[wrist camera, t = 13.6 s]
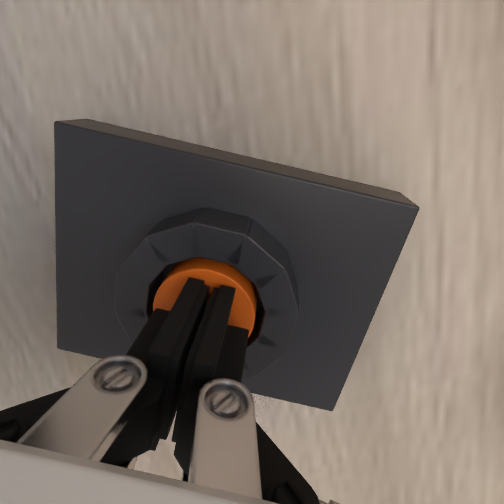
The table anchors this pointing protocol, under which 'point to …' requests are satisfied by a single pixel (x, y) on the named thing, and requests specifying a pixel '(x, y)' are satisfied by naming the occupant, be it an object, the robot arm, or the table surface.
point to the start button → (211, 288)
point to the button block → (221, 250)
